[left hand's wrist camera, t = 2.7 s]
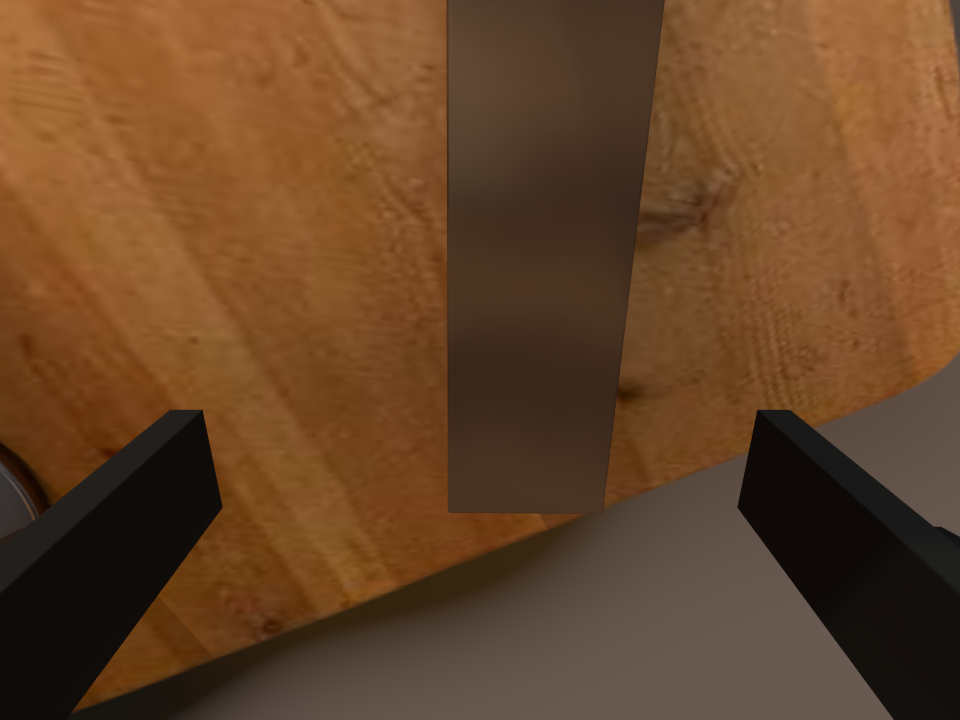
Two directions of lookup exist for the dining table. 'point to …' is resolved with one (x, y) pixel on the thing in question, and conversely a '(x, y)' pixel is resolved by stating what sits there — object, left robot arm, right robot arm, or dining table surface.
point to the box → (541, 241)
